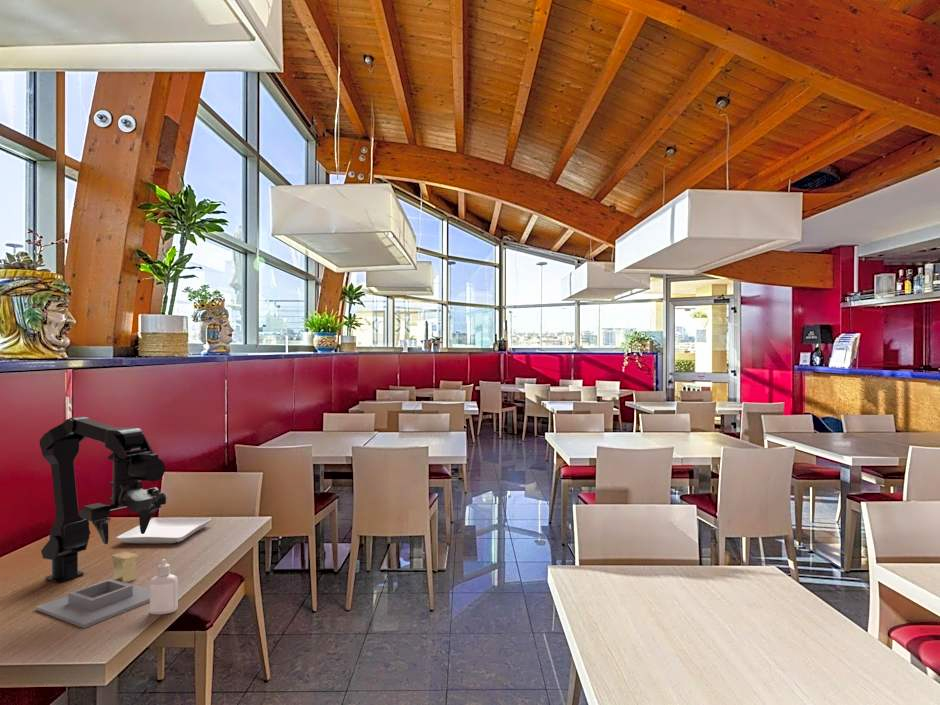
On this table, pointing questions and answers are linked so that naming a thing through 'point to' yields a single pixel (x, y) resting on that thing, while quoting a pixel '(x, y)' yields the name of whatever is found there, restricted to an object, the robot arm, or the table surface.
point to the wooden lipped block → (125, 566)
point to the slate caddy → (96, 602)
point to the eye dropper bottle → (163, 591)
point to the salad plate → (164, 530)
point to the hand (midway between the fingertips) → (124, 538)
